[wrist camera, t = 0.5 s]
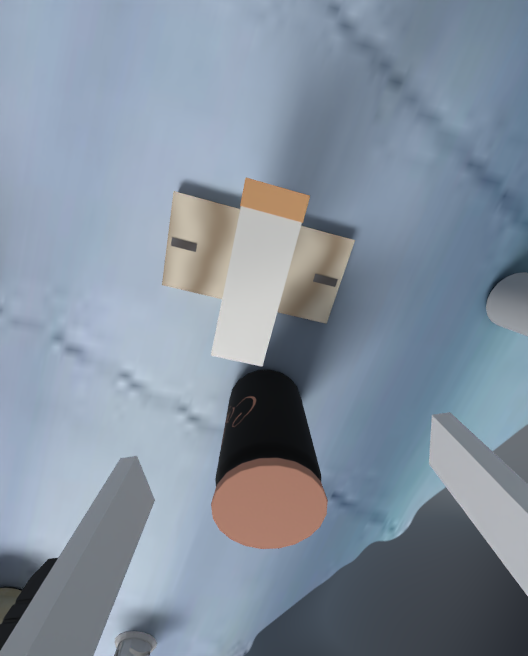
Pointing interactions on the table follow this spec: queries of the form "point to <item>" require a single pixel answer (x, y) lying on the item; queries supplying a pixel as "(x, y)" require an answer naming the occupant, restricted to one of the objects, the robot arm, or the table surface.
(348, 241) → the lock board
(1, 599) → the planter bowl
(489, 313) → the can
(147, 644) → the french press
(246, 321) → the orange-capped white bar
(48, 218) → the table surface
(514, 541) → the robot arm
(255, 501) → the coffee jar
